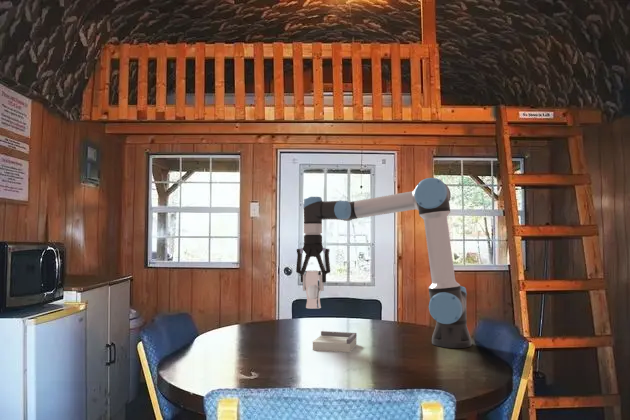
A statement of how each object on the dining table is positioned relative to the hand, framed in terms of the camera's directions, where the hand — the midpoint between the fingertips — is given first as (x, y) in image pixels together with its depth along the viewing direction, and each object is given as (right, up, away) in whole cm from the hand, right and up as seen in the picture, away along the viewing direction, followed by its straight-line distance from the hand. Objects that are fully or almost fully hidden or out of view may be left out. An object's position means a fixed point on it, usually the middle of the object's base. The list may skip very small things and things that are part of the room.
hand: (313, 290), depth 212 cm
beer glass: (0, -7, 0) cm, 7 cm away
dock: (+8, -19, -15) cm, 26 cm away
